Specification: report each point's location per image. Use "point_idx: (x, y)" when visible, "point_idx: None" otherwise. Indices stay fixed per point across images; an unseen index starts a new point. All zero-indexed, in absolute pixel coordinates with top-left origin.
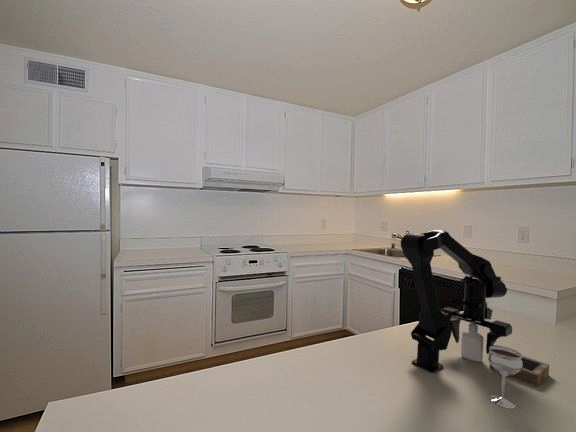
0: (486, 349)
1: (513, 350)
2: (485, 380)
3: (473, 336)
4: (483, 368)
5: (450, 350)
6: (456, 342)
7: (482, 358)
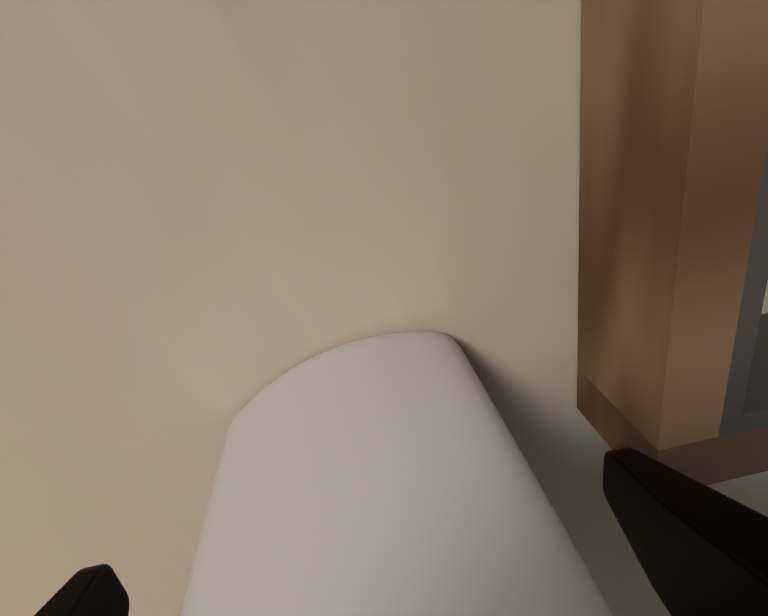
0: (659, 585)
1: None
2: (638, 611)
3: None
4: (545, 473)
5: (72, 455)
6: (115, 609)
7: (467, 359)
